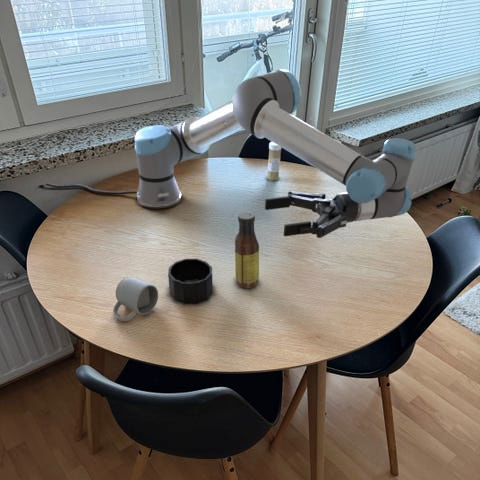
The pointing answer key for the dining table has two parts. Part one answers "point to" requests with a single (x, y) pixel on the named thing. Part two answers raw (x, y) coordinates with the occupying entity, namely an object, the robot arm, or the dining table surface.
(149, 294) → the ceramic mug
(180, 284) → the cup
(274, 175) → the sprinkles bottle
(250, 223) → the sauce bottle
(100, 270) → the dining table surface
